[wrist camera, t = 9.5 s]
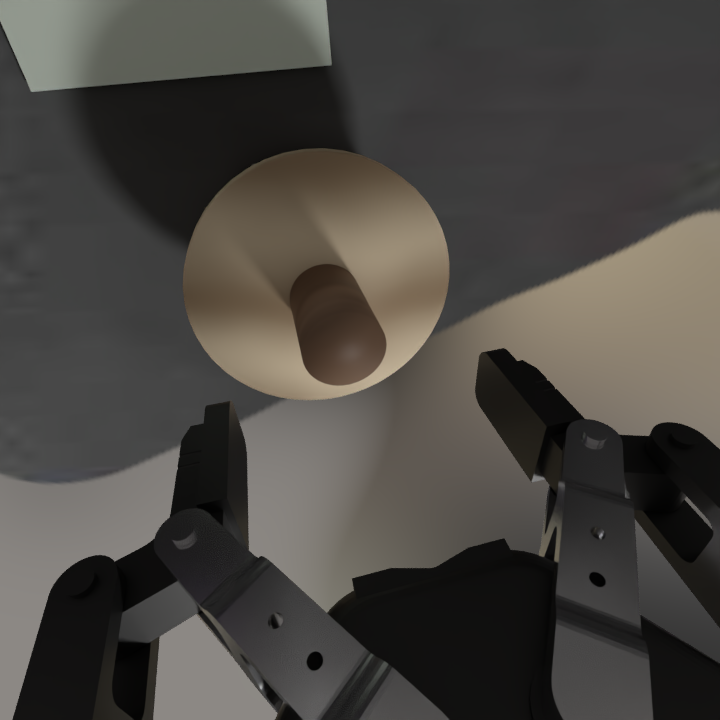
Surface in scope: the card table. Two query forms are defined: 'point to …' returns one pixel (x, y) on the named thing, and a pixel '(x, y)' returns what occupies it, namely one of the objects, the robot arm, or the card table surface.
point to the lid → (315, 274)
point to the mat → (161, 39)
